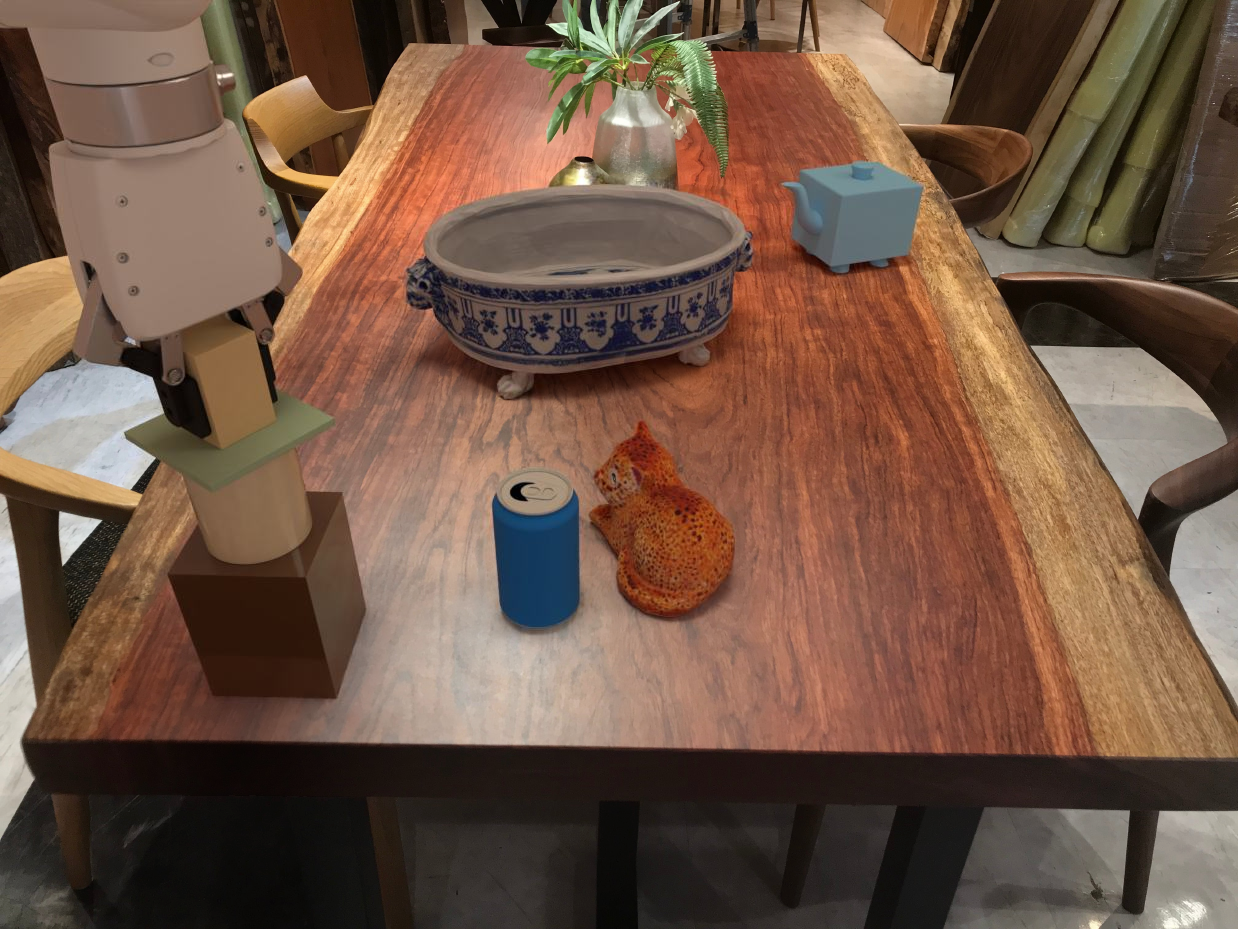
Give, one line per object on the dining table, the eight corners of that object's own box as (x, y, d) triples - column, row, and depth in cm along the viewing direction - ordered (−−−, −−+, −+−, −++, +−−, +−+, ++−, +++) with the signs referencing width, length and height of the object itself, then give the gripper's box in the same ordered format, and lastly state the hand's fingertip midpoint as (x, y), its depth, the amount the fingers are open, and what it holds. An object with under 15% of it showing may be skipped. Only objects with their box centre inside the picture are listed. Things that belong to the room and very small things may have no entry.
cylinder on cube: (336, 698, 65) (280, 478, 53) (212, 695, 65) (129, 474, 53) (366, 609, 72) (323, 398, 60) (255, 606, 72) (190, 394, 60)
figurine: (568, 523, 81) (567, 431, 75) (671, 491, 85) (677, 402, 79) (649, 635, 70) (654, 538, 64) (762, 593, 74) (777, 498, 69)
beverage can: (510, 574, 76) (502, 459, 69) (585, 582, 75) (585, 467, 68) (491, 629, 70) (480, 512, 63) (571, 639, 70) (570, 521, 63)
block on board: (212, 493, 52) (179, 390, 47) (125, 439, 56) (88, 340, 52) (336, 425, 58) (316, 327, 53) (249, 380, 62) (225, 287, 58)
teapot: (878, 235, 139) (896, 145, 131) (921, 263, 131) (944, 169, 122) (752, 253, 132) (763, 159, 124) (789, 283, 124) (804, 185, 116)
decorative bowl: (701, 276, 125) (710, 169, 117) (795, 366, 105) (814, 245, 97) (396, 319, 113) (380, 202, 104) (437, 430, 93) (421, 298, 84)
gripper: (238, 66, 52) (298, 343, 63) (-77, 129, 41) (62, 453, 52) (323, 87, 49) (371, 377, 60) (4, 163, 38) (134, 502, 48)
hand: (226, 410), depth 56 cm, fingers closed on block on board, 4 cm apart
